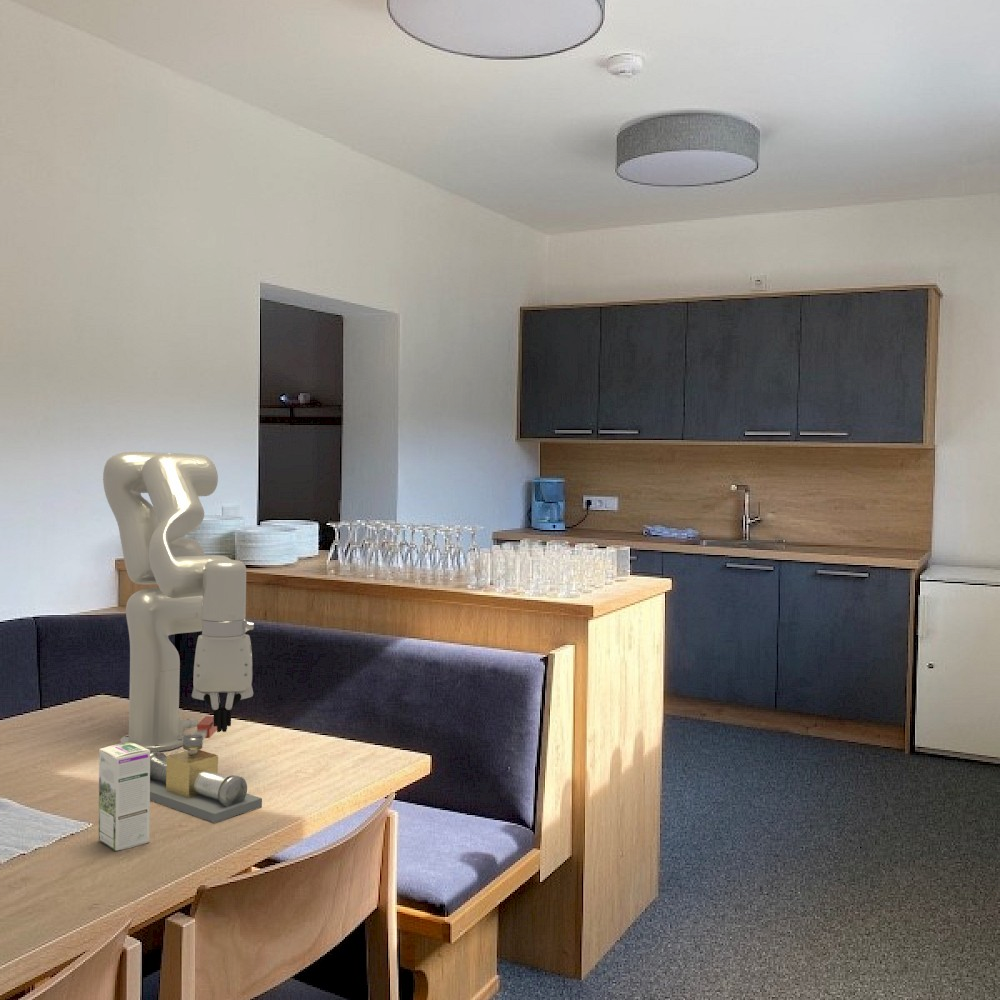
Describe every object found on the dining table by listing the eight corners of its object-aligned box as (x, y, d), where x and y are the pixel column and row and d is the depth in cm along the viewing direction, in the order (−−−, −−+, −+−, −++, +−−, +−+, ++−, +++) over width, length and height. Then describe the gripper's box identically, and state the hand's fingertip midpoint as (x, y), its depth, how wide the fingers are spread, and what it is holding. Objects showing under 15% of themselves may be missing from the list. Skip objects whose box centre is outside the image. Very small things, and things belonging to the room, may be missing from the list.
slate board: (171, 777, 188) (171, 769, 188) (261, 806, 175) (261, 798, 174) (123, 790, 180) (123, 782, 180) (214, 823, 166) (214, 813, 166)
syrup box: (151, 842, 157) (153, 748, 157) (114, 852, 153) (115, 755, 152) (132, 832, 161) (134, 740, 161) (96, 841, 157) (97, 747, 156)
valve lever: (202, 733, 190) (203, 715, 190) (220, 734, 190) (220, 716, 190) (180, 757, 175) (180, 737, 175) (199, 757, 175) (200, 738, 175)
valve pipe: (165, 776, 186) (166, 740, 186) (248, 803, 173) (249, 764, 173) (136, 784, 181) (137, 747, 181) (220, 812, 168) (221, 772, 168)
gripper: (267, 625, 191) (265, 724, 191) (183, 625, 188) (181, 726, 188) (265, 632, 183) (263, 734, 184) (178, 632, 180) (176, 736, 181)
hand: (222, 729), depth 186 cm, fingers closed
